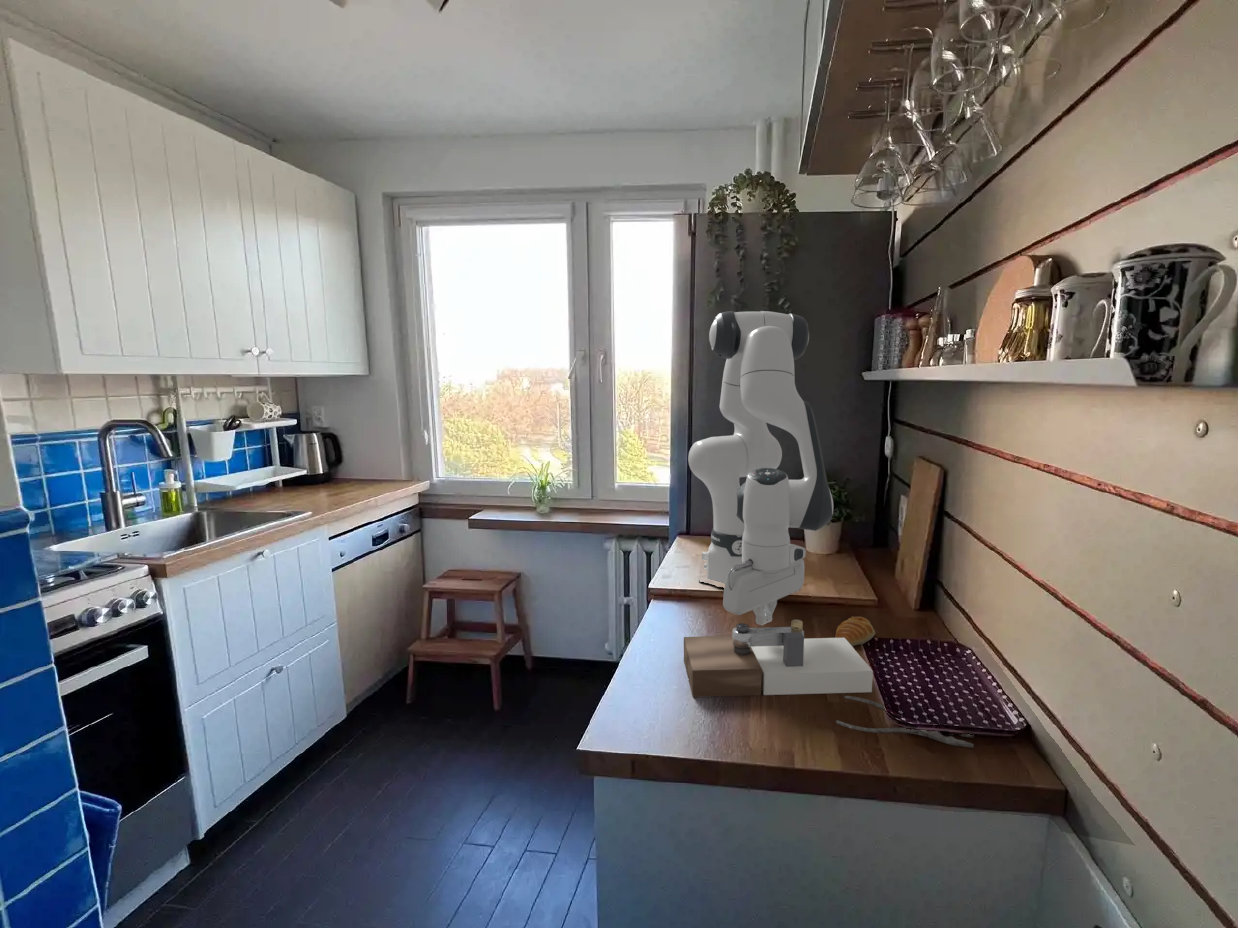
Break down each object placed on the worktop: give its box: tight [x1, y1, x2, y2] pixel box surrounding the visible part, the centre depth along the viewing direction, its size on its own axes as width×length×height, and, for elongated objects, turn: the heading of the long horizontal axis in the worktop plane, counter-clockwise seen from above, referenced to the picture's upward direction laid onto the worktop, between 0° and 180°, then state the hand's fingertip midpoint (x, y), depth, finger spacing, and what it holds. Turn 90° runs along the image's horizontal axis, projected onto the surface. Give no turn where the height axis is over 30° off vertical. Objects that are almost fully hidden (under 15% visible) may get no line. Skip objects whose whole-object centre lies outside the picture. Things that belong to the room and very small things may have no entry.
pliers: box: [835, 695, 975, 749], centre depth 98 cm, size 10×1×20 cm
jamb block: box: [683, 635, 762, 698], centre depth 112 cm, size 13×12×6 cm
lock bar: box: [731, 619, 805, 648], centre depth 111 cm, size 13×4×4 cm, turn 91°
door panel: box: [751, 632, 874, 696], centre depth 112 cm, size 13×19×10 cm
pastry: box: [834, 616, 876, 647], centre depth 127 cm, size 9×7×4 cm
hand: (763, 622), depth 118 cm, fingers closed
